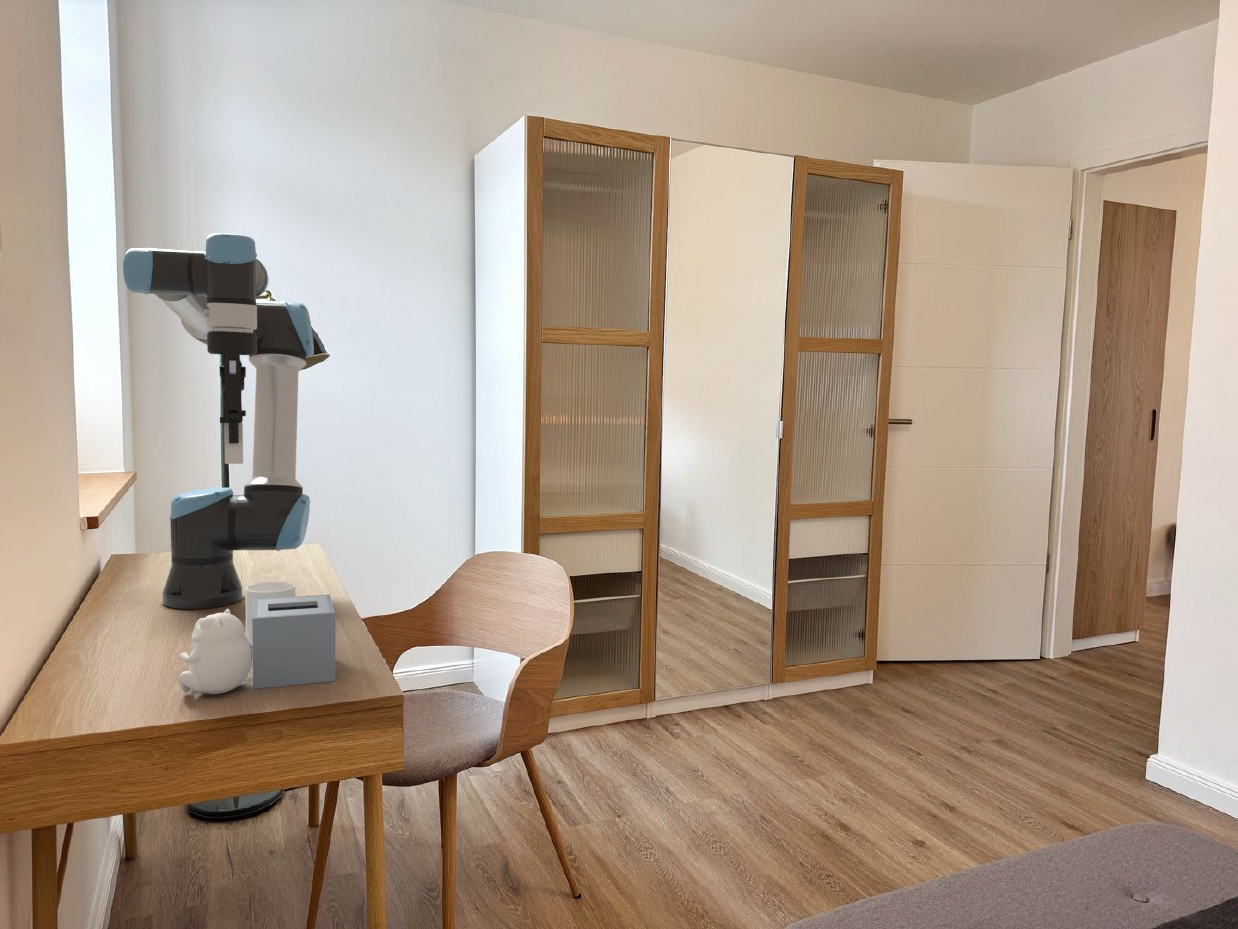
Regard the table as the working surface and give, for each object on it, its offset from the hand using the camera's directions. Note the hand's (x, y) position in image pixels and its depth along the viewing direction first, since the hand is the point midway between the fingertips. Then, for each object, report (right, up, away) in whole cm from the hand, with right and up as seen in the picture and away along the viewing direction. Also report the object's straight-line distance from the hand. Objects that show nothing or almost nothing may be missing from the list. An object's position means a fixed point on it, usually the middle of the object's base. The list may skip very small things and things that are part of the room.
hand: (234, 458), depth 146 cm
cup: (+2, -33, +12) cm, 35 cm away
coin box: (+12, -35, -5) cm, 37 cm away
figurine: (+4, -35, -14) cm, 38 cm away
